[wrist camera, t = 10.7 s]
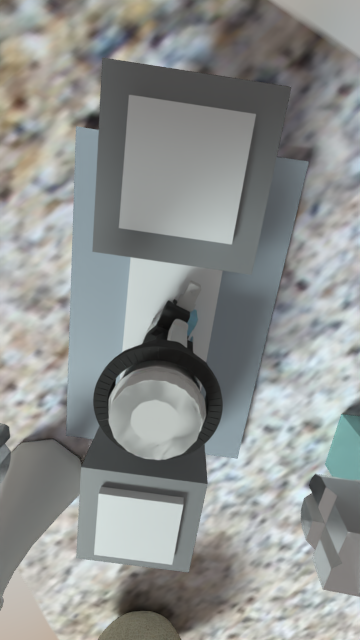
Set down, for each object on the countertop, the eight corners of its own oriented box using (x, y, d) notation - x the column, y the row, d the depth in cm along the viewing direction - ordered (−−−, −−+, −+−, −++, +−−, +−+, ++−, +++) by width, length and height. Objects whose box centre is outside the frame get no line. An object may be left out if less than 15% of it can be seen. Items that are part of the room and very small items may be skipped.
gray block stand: (302, 164, 19) (424, 101, 9) (235, 449, 26) (264, 590, 16) (81, 131, 19) (-35, 30, 9) (70, 427, 26) (-4, 556, 16)
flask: (102, 486, 27) (57, 625, 18) (37, 513, 29) (-39, 657, 19) (57, 424, 26) (-20, 543, 16) (-11, 455, 27) (-121, 583, 17)
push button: (160, 263, 20) (134, 299, 10) (232, 299, 20) (271, 366, 11) (119, 347, 22) (65, 446, 12) (187, 379, 22) (185, 496, 13)
